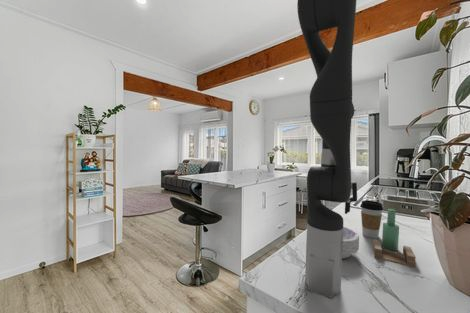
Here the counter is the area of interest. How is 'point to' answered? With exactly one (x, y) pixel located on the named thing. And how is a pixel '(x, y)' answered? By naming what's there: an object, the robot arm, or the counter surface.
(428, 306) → the counter surface
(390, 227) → the bottle
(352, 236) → the paper bowls
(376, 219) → the coffee cup
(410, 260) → the cradle
